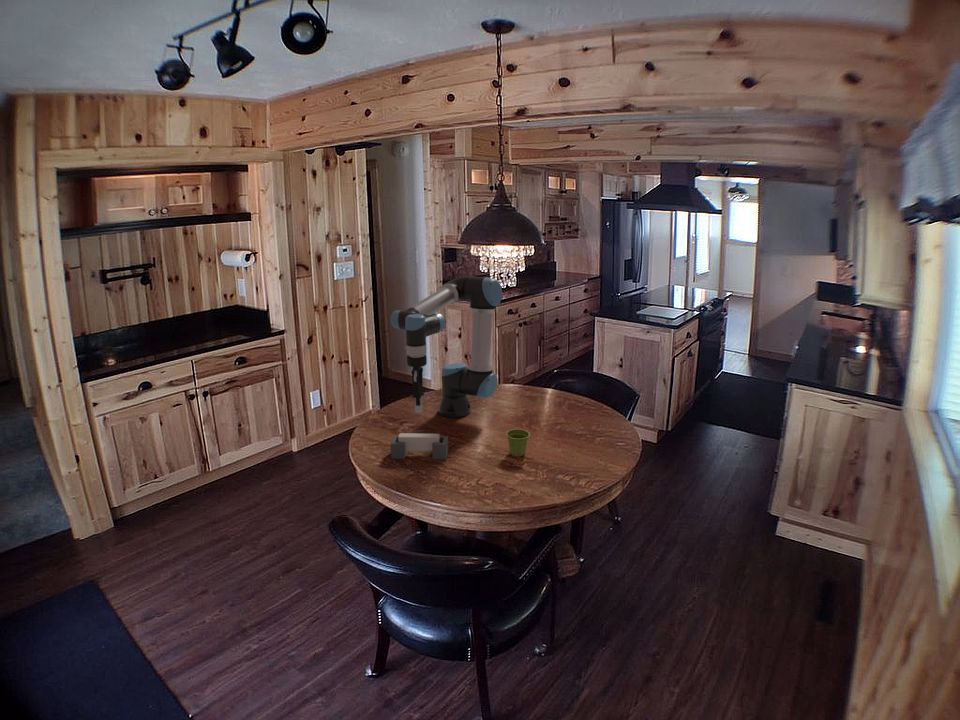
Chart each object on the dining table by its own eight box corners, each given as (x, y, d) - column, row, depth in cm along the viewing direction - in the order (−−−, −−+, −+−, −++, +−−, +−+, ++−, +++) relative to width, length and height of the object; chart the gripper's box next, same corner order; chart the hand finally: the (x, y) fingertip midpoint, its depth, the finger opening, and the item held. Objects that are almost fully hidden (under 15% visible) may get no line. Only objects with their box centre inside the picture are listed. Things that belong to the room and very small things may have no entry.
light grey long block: (439, 447, 239) (439, 433, 238) (438, 451, 236) (438, 437, 234) (400, 446, 240) (399, 433, 238) (398, 450, 237) (398, 436, 235)
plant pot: (529, 448, 244) (529, 429, 241) (529, 459, 235) (529, 439, 232) (506, 447, 244) (506, 428, 242) (505, 458, 235) (506, 438, 233)
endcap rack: (448, 450, 242) (448, 436, 240) (446, 459, 235) (446, 444, 233) (394, 449, 243) (394, 435, 241) (391, 458, 236) (390, 443, 234)
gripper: (409, 349, 233) (411, 405, 240) (404, 360, 221) (406, 418, 228) (428, 350, 233) (430, 405, 240) (424, 360, 220) (426, 418, 227)
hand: (418, 412), depth 234 cm, fingers closed
